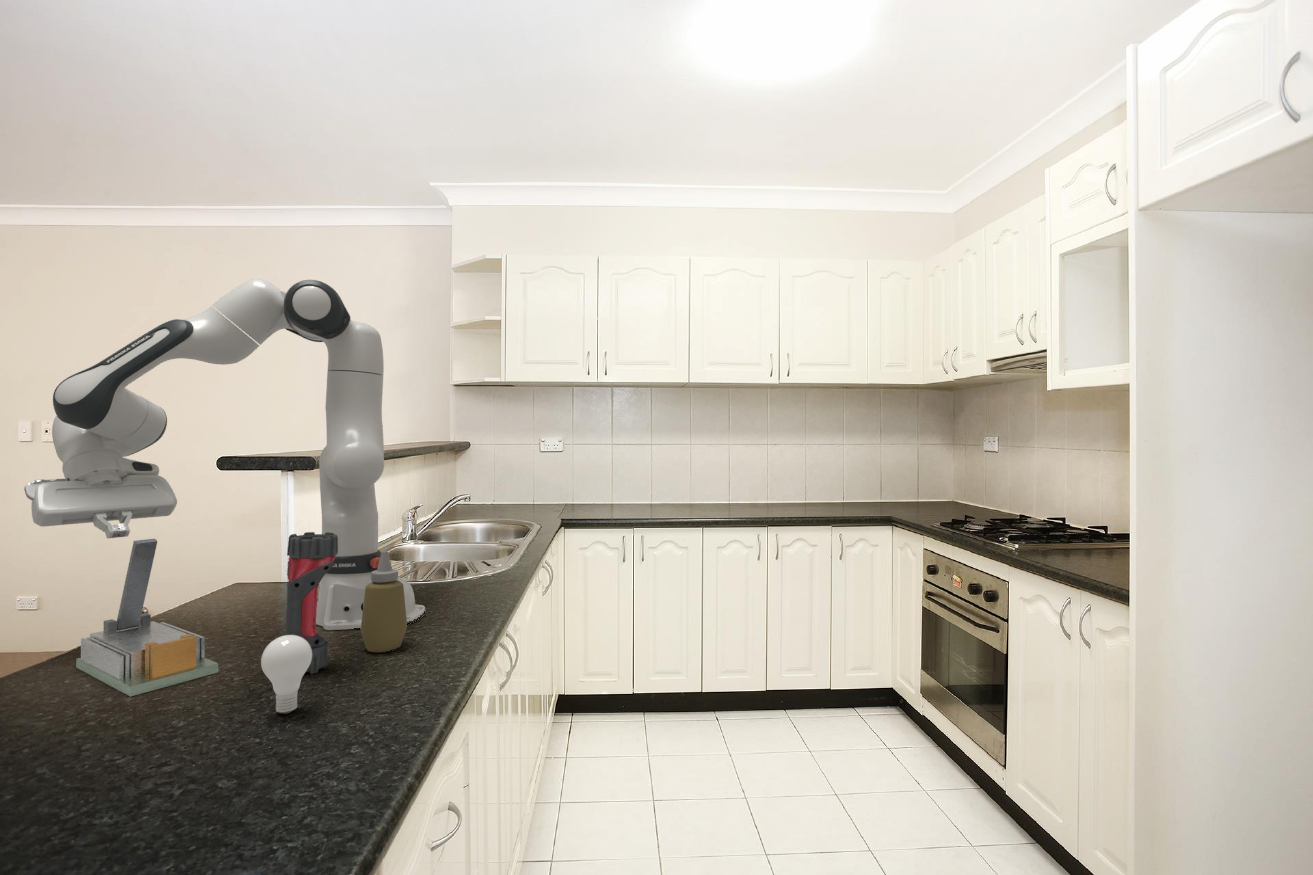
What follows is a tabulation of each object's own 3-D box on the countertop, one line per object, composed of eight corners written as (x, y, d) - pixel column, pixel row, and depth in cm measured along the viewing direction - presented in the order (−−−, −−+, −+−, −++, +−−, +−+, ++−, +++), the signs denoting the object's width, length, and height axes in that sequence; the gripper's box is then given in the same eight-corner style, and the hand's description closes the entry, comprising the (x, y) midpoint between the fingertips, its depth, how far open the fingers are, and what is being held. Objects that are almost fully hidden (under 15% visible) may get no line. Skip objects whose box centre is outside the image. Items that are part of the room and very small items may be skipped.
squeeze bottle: (361, 658, 115) (362, 557, 115) (359, 644, 122) (359, 549, 122) (409, 651, 119) (410, 553, 119) (404, 639, 126) (405, 546, 126)
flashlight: (346, 664, 112) (348, 532, 112) (310, 680, 104) (311, 538, 104) (311, 659, 114) (312, 529, 114) (272, 674, 107) (274, 536, 107)
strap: (117, 631, 111) (115, 628, 112) (138, 627, 114) (136, 624, 114) (135, 543, 107) (133, 540, 108) (157, 541, 110) (155, 538, 110)
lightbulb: (288, 724, 89) (289, 644, 89) (249, 720, 90) (250, 641, 90) (321, 705, 95) (322, 630, 95) (284, 701, 96) (284, 627, 96)
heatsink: (76, 667, 109) (76, 623, 109) (160, 648, 119) (160, 607, 119) (130, 696, 97) (130, 646, 97) (218, 672, 108) (218, 627, 108)
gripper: (26, 468, 110) (45, 531, 105) (167, 464, 127) (189, 517, 122) (17, 493, 112) (35, 555, 107) (157, 486, 130) (178, 539, 125)
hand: (119, 535), depth 115 cm, fingers closed
